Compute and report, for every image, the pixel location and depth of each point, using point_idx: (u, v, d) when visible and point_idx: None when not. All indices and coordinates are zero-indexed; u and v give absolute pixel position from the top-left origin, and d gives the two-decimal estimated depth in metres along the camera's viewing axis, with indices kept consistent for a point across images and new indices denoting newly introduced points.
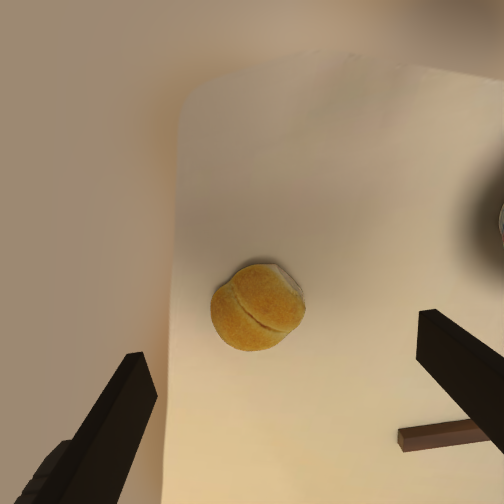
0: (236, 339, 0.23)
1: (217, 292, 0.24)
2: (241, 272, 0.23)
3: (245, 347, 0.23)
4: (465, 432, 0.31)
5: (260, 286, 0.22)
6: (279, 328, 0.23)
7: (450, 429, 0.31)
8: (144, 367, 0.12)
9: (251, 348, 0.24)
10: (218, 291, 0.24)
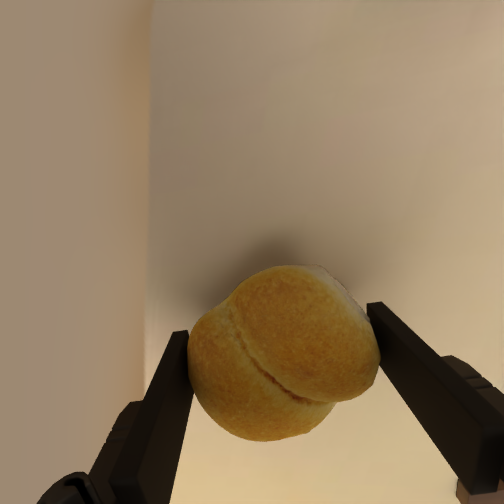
0: (238, 426, 0.11)
1: (200, 323, 0.11)
2: (250, 283, 0.11)
3: (259, 439, 0.11)
4: None
5: (295, 317, 0.09)
6: (329, 401, 0.11)
7: None
8: None
9: (271, 440, 0.11)
10: (202, 321, 0.12)
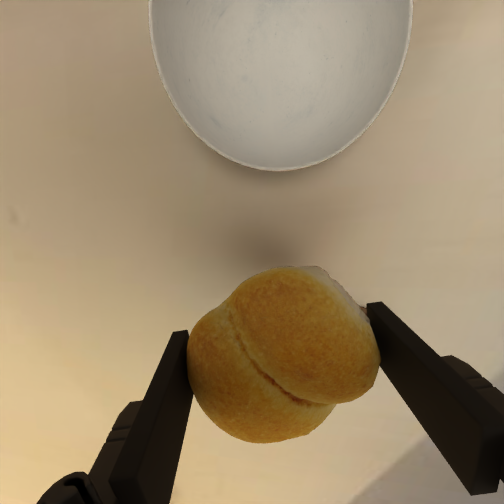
0: (238, 428, 0.11)
1: (199, 325, 0.11)
2: (250, 284, 0.11)
3: (258, 441, 0.11)
4: None
5: (295, 319, 0.09)
6: (329, 403, 0.11)
7: None
8: None
9: (270, 441, 0.11)
10: (201, 323, 0.11)
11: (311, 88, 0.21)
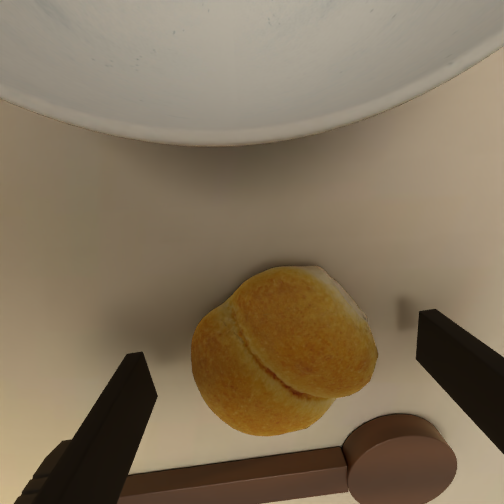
0: (241, 421, 0.11)
1: (204, 322, 0.12)
2: (252, 283, 0.11)
3: (260, 433, 0.12)
4: (227, 486, 0.16)
5: (295, 315, 0.10)
6: (328, 397, 0.11)
7: (202, 480, 0.16)
8: (144, 367, 0.12)
9: (272, 434, 0.12)
10: (205, 320, 0.12)
11: None
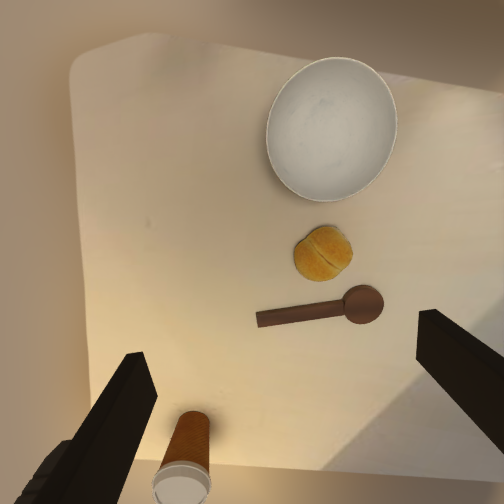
0: (313, 270, 0.38)
1: (299, 244, 0.39)
2: (316, 231, 0.38)
3: (317, 277, 0.39)
4: (300, 311, 0.43)
5: (329, 238, 0.37)
6: (338, 265, 0.38)
7: (290, 309, 0.43)
8: (144, 367, 0.12)
9: (320, 278, 0.39)
10: (300, 243, 0.39)
11: (340, 150, 0.35)
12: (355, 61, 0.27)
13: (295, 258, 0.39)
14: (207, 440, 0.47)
